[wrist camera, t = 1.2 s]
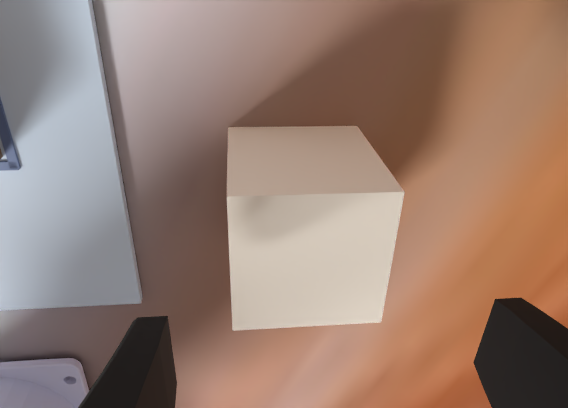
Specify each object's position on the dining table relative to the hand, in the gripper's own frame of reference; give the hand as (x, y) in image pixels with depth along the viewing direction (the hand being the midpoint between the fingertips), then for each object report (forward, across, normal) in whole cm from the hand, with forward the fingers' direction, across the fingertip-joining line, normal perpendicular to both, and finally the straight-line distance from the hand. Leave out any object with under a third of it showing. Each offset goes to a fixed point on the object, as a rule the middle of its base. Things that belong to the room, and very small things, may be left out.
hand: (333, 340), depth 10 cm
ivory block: (+8, 0, 0) cm, 8 cm away
